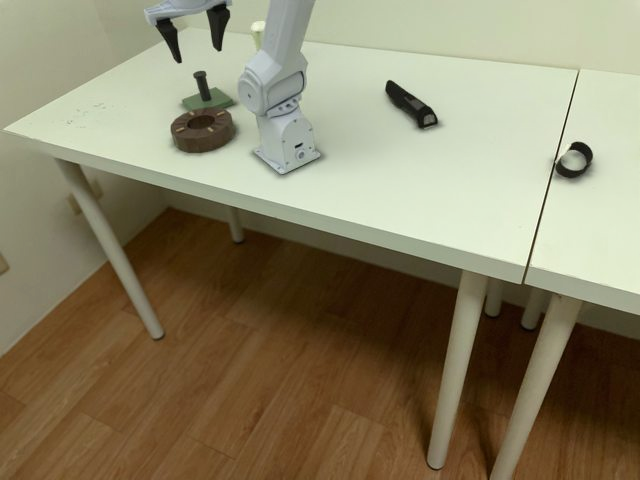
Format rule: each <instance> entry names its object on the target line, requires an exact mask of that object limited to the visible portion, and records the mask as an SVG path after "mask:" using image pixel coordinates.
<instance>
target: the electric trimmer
mask: <svg viewBox="0 0 640 480" xmlns="http://www.w3.org/2000/svg"><path fill="white" fill-rule="evenodd" d="M384 91H385V93H386V94H387V96H388V97H389V99H391V101H392V102H393V104H394V105H395V106H396V107H397V108H401V109H404V110H405V111H406V112H407V113H408V114H409V115H410V116H412V117H413V118H414V119H415V120H416V123H417V126H418V127H419V128H421V129H423V130H426V129H430V128H432V127H436V126H437V124H438V123H439V120H438V116H437V114H436V113H435V111H434V109H433V108H432V107H431V106H429V105H427V104H426V103H425V102H423V101H422V100H421V99H420V98H417V97H416V96H415V95H413V94H412V93H411V92H409V91H407V90H406V89H404V88H403V87H402V86H401V85H399V84H398V83H396V82H395V81H394V80H392V79H388V80H387V81H386V84H385V89H384Z"/></svg>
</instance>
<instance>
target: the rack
mask: <svg viewBox="0 0 640 480" xmlns="http://www.w3.org/2000/svg"><path fill="white" fill-rule="evenodd" d="M192 76H193V79H195V81H196V85H197V88H198V91H199V92H198V93H195V94H192V95H190V96H187V97H184V98H182V99H181V102H182V105H183V106H184V107H185V109H187V110H189V111H192V110H194V109H199V108H205V107H218V108H222V109H225V108H228V107H230V106H233V105H234V100H233V98H232V97H230V96H229V95H227V94H226V93H225V92H223V91H222V90H221V89H219V88H218V87H216V86H214V87H211V88H210V87H209V84H208V79H207V76H208V74H207V71H205V70H197V71H194V72H193V73H192Z"/></svg>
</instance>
